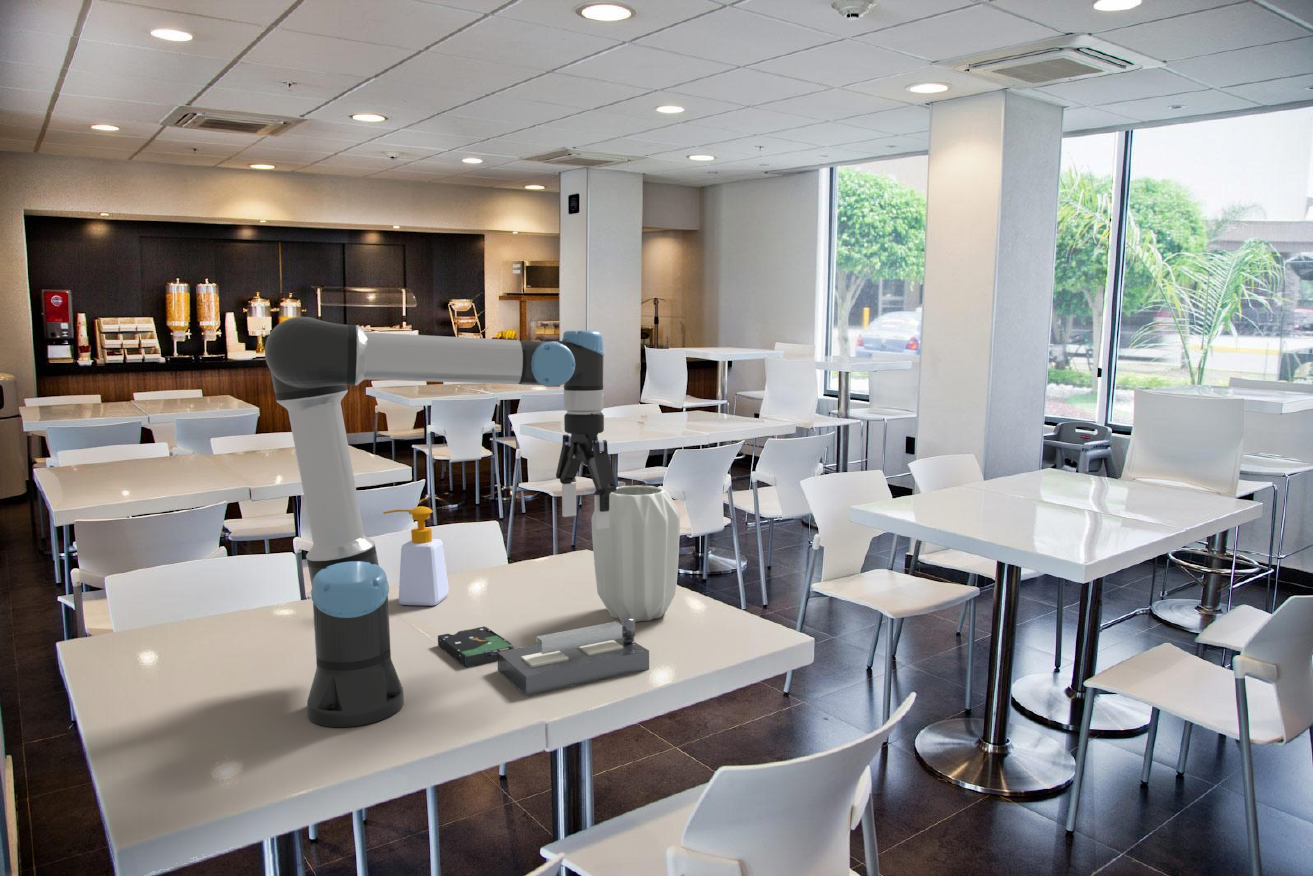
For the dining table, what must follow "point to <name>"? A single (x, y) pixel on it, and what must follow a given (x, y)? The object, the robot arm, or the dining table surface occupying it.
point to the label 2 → (600, 647)
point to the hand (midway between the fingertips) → (585, 522)
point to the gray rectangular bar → (586, 636)
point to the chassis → (571, 667)
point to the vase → (638, 553)
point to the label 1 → (544, 658)
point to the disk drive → (474, 646)
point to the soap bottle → (422, 564)
